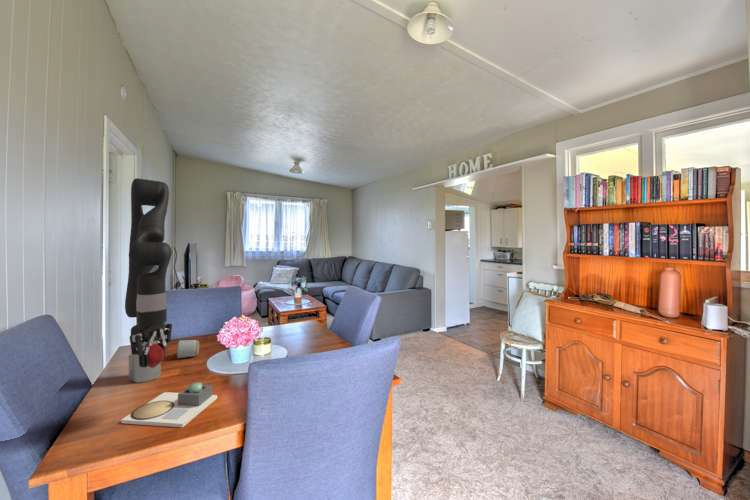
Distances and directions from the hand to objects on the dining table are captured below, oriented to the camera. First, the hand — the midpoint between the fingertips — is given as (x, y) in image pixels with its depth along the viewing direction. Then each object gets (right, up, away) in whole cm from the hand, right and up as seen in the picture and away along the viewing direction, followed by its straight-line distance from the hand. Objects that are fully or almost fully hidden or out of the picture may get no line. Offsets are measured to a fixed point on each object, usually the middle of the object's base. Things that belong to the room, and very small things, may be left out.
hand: (152, 362), depth 98 cm
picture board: (+5, -16, +3) cm, 17 cm away
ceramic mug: (-18, -14, +49) cm, 54 cm away
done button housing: (+10, -16, +7) cm, 19 cm away
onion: (0, -2, 0) cm, 2 cm away
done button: (+10, -12, +6) cm, 17 cm away
